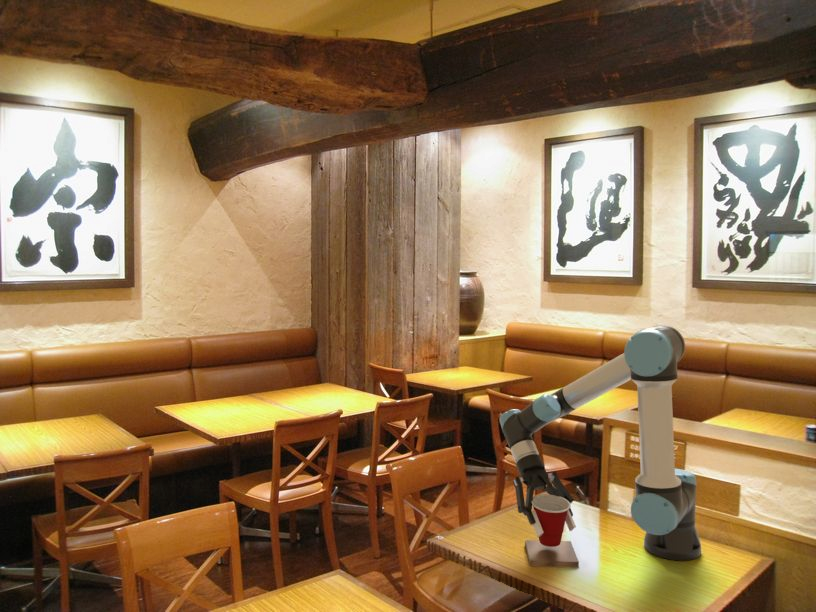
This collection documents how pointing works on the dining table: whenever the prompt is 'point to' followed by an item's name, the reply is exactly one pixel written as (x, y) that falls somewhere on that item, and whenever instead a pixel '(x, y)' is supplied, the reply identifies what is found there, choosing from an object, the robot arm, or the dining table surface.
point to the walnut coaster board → (551, 554)
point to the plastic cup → (551, 517)
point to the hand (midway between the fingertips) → (556, 531)
